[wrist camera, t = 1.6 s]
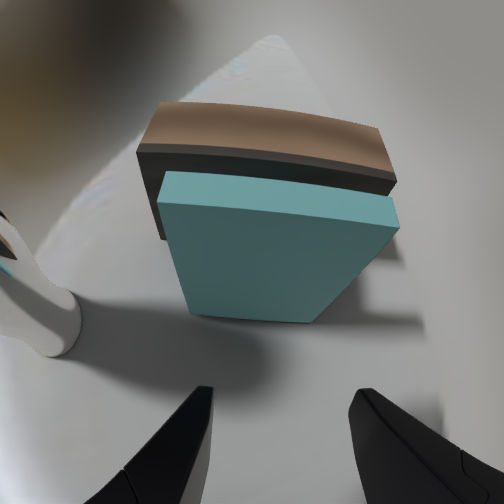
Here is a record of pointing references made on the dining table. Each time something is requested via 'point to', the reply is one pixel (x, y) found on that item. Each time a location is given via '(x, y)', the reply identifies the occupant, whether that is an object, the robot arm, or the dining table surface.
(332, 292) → the teal fan slab
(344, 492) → the dining table surface
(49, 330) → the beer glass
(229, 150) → the block
